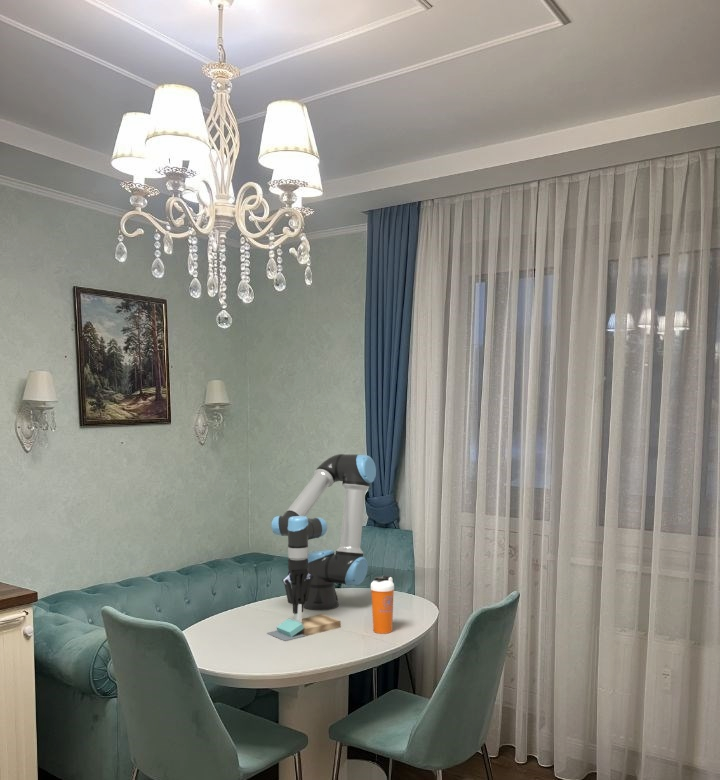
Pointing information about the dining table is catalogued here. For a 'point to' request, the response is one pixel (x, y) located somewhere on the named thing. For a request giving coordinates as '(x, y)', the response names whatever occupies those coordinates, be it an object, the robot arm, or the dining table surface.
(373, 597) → the shaker bottle
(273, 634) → the mat
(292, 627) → the turquoise rectangular block
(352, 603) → the dining table surface
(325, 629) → the tan wooden board
